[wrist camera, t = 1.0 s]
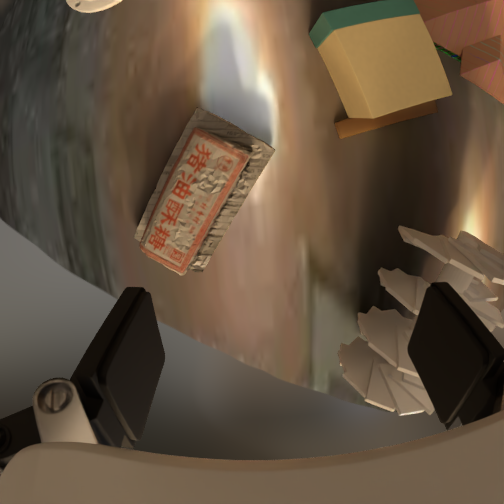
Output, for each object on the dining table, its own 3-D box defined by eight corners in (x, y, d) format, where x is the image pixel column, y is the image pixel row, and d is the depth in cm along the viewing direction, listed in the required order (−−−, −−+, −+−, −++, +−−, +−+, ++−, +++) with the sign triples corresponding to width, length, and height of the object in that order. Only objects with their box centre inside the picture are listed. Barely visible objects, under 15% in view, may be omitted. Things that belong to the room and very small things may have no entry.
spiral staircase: (340, 332, 49) (405, 193, 37) (426, 370, 43) (504, 245, 32) (307, 409, 33) (411, 225, 22) (421, 454, 28) (553, 305, 17)
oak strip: (333, 122, 31) (335, 122, 31) (431, 97, 29) (434, 97, 28) (339, 138, 32) (341, 139, 32) (435, 112, 30) (438, 112, 29)
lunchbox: (308, 34, 27) (322, 12, 20) (383, 16, 25) (412, -4, 18) (347, 118, 31) (371, 119, 24) (418, 95, 29) (453, 94, 22)
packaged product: (196, 289, 35) (121, 249, 33) (202, 270, 40) (136, 234, 38) (278, 152, 29) (190, 104, 27) (276, 148, 33) (199, 106, 31)
